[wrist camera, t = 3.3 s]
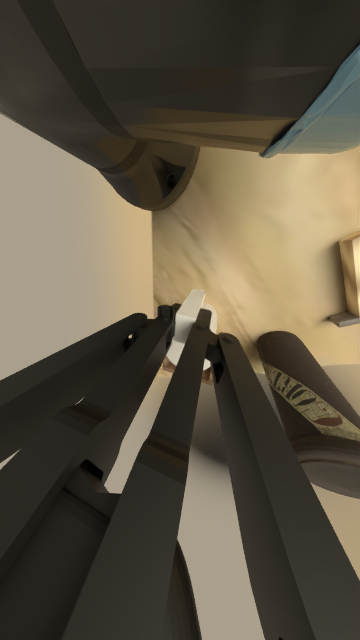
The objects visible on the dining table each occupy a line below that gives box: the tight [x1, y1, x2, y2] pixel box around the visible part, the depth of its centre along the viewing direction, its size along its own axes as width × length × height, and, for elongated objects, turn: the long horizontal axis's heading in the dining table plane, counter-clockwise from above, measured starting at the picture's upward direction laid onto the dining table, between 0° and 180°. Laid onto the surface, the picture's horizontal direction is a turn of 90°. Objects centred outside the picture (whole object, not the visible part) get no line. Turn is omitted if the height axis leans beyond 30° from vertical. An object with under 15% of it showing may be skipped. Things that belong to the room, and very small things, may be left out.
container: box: [257, 331, 360, 499], centre depth 20 cm, size 9×9×20 cm
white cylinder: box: [166, 302, 217, 370], centre depth 25 cm, size 8×8×12 cm
